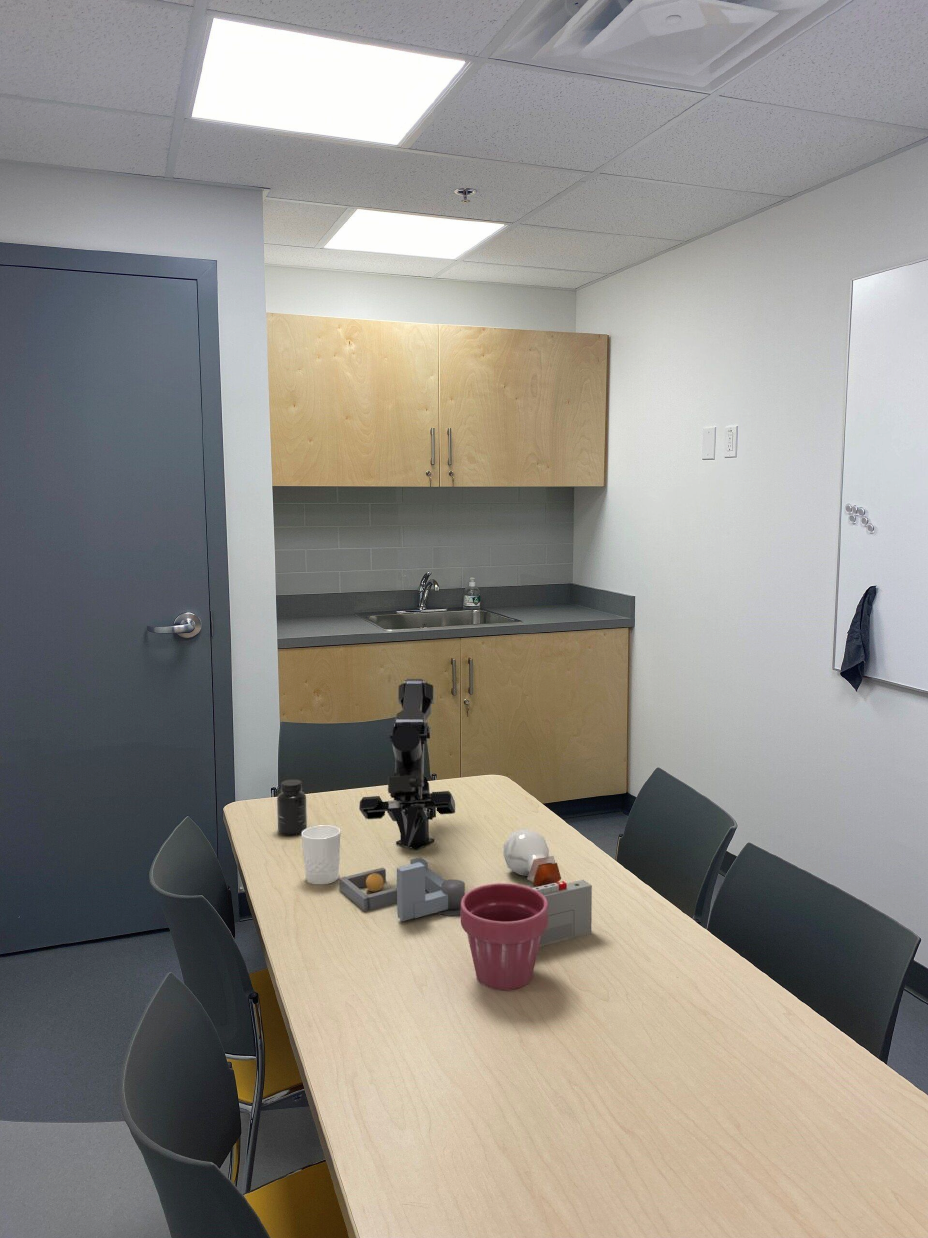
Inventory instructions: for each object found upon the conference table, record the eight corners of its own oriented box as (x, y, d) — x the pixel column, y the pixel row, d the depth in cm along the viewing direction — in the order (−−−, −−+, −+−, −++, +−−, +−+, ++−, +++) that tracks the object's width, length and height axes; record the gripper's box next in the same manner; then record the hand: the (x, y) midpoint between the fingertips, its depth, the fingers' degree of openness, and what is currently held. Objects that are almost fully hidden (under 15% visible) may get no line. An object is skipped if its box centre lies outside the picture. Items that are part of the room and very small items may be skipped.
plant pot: (542, 1004, 136) (542, 924, 134) (452, 995, 139) (451, 917, 137) (552, 958, 150) (552, 885, 148) (470, 951, 153) (469, 879, 151)
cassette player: (582, 927, 161) (583, 874, 160) (591, 933, 159) (591, 880, 158) (507, 946, 154) (507, 891, 153) (515, 953, 152) (514, 897, 151)
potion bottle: (520, 869, 191) (551, 905, 177) (487, 850, 187) (516, 885, 173) (544, 833, 191) (578, 867, 177) (512, 813, 187) (543, 846, 173)
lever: (365, 890, 176) (364, 843, 175) (425, 875, 183) (424, 830, 182) (405, 923, 161) (404, 873, 160) (469, 906, 168) (468, 857, 167)
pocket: (383, 879, 183) (383, 867, 183) (409, 899, 173) (409, 887, 173) (339, 890, 178) (339, 878, 177) (364, 911, 168) (364, 899, 168)
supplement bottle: (272, 835, 209) (270, 785, 207) (286, 825, 215) (284, 777, 214) (299, 838, 207) (297, 787, 205) (312, 828, 213) (310, 779, 212)
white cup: (345, 871, 187) (344, 825, 186) (336, 887, 179) (335, 839, 178) (308, 870, 188) (307, 824, 187) (298, 885, 180) (296, 838, 179)
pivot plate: (435, 900, 173) (435, 898, 173) (471, 899, 173) (471, 898, 173) (434, 916, 166) (434, 915, 166) (471, 916, 166) (471, 914, 166)
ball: (376, 873, 180) (369, 868, 177) (389, 881, 178) (382, 876, 175) (366, 888, 179) (359, 883, 176) (379, 896, 177) (372, 892, 174)
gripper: (354, 760, 178) (349, 835, 169) (445, 753, 176) (445, 829, 167) (368, 782, 187) (364, 854, 179) (455, 775, 185) (455, 849, 176)
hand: (406, 846), depth 175 cm, fingers closed
